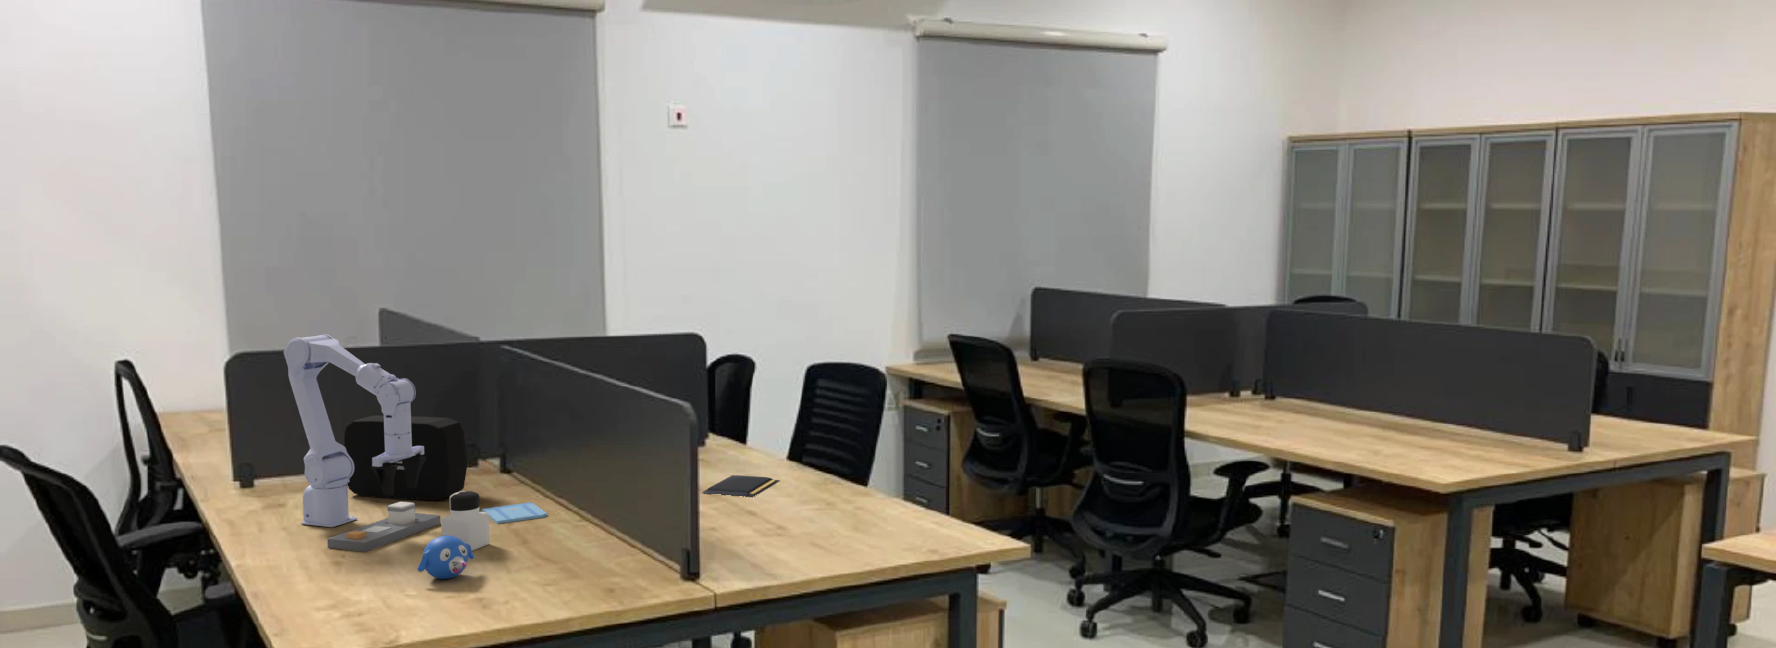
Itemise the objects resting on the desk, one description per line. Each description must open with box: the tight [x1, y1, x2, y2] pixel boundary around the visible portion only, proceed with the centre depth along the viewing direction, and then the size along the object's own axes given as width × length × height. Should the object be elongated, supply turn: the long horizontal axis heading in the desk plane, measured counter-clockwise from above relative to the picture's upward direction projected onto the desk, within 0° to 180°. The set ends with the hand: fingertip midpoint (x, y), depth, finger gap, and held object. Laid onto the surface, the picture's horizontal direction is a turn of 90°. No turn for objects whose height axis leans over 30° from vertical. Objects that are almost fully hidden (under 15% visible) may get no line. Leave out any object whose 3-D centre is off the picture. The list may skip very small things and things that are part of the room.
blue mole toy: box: [417, 535, 476, 580], centre depth 231 cm, size 12×12×8 cm
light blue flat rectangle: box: [481, 501, 548, 525], centre depth 282 cm, size 14×12×1 cm
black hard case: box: [343, 414, 469, 501], centre depth 301 cm, size 30×12×20 cm, turn 76°
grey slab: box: [327, 512, 441, 553], centre depth 263 cm, size 24×10×3 cm, turn 162°
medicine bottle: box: [440, 490, 490, 552], centre depth 253 cm, size 7×7×12 cm
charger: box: [387, 501, 416, 525], centre depth 267 cm, size 4×4×6 cm
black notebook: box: [701, 474, 781, 498], centre depth 310 cm, size 20×2×15 cm
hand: (400, 491), depth 267 cm, fingers open, 7 cm apart
